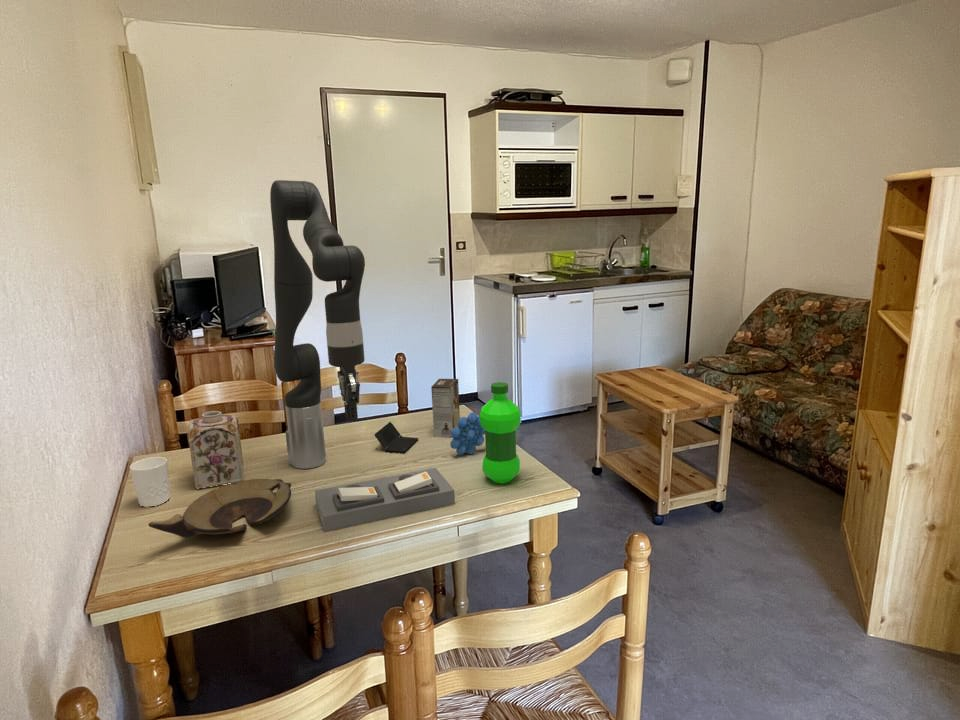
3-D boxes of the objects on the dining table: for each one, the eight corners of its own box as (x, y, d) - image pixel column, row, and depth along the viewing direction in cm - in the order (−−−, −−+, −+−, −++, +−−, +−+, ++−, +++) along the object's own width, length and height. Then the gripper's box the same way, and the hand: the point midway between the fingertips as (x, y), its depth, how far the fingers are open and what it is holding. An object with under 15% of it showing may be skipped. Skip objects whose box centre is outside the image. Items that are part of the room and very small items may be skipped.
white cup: (136, 512, 143) (129, 472, 140) (137, 498, 149) (130, 460, 147) (173, 504, 146) (167, 465, 144) (172, 491, 153) (166, 454, 151)
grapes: (481, 444, 177) (480, 405, 175) (492, 452, 172) (491, 412, 169) (444, 452, 172) (443, 412, 170) (454, 460, 166) (453, 419, 164)
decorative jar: (195, 491, 153) (184, 423, 148) (197, 473, 163) (188, 409, 159) (245, 482, 157) (237, 416, 153) (244, 465, 167) (236, 403, 163)
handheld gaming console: (411, 449, 172) (390, 421, 172) (392, 463, 173) (371, 436, 173) (420, 439, 183) (400, 413, 183) (402, 453, 184) (382, 427, 184)
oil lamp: (307, 526, 134) (304, 494, 132) (154, 568, 120) (148, 533, 118) (285, 488, 153) (281, 460, 151) (150, 520, 139) (145, 489, 137)
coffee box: (441, 426, 194) (438, 377, 190) (460, 427, 192) (458, 378, 188) (433, 436, 185) (430, 386, 181) (453, 437, 184) (451, 386, 180)
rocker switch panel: (324, 531, 131) (322, 512, 130) (315, 504, 144) (314, 486, 143) (454, 503, 142) (454, 486, 141) (436, 480, 155) (435, 464, 154)
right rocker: (400, 495, 139) (398, 490, 138) (395, 487, 143) (394, 482, 142) (432, 483, 141) (431, 478, 141) (427, 475, 145) (425, 471, 145)
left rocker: (341, 501, 134) (341, 495, 134) (338, 492, 138) (338, 487, 138) (377, 499, 137) (377, 494, 137) (372, 491, 141) (373, 486, 141)
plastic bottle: (473, 481, 154) (470, 386, 148) (498, 467, 162) (496, 376, 156) (504, 491, 148) (502, 393, 142) (529, 476, 155) (528, 382, 149)
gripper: (369, 346, 124) (375, 426, 128) (356, 334, 136) (362, 407, 140) (332, 350, 121) (339, 431, 125) (322, 337, 134) (329, 412, 138)
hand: (351, 418), depth 133 cm, fingers closed
